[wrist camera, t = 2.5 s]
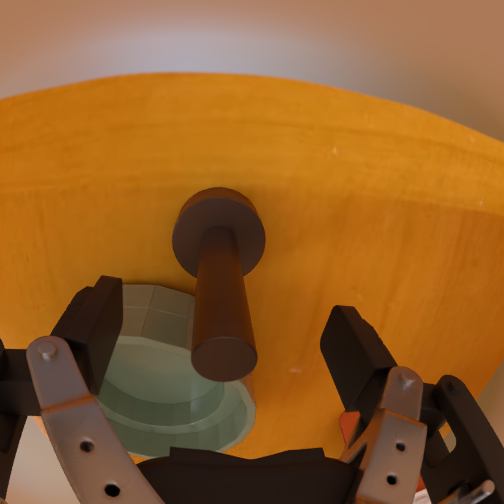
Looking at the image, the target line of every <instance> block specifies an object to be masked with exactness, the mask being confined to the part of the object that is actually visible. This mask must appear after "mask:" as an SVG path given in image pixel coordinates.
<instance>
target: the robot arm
mask: <svg viewBox="0 0 504 504" xmlns="http://www.w3.org/2000/svg"><path fill="white" fill-rule="evenodd" d="M122 324H123V283H122V279H121V278H116V277H110V276H104V275H102V276H101V277H100V278H99V280H98V281H97V283H96V284H95V286H94V287H88V286H87V287H85V288H84V289H82V290H81V291H79V292H77V293H76V295H75V296H74V298H73V299H72V301H71V303H70V304H69V305H68V307H67V308H66V311H65V312H64V313H63V315H62V316H61V318H60V319H59V321H58V323H57V324H56V326H55V327H54V329H53V331H52V332H51V334H50V336H43V337H40V338H38V339H36V340H34V341H33V342H32V343H31V344H30V345H29V346H28V348H27V349H5V348H4V345H3V342H2V340H1V339H0V504H7V502H6V501H5V498H6V493H7V488H8V484H9V479H10V475H11V471H12V466H13V463H14V459H15V455H16V452H17V448H18V444H19V441H20V438H21V435H22V431H23V428H24V425H25V422H26V419H27V416H41V417H42V420H43V423H44V426H45V429H46V431H47V434H48V436H49V439H50V441H51V444H52V446H53V448H54V451H55V453H56V456H57V458H58V460H59V462H60V464H61V467H62V469H63V471H64V473H65V475H66V477H67V479H68V481H69V483H70V485H71V487H72V489H73V491H74V493H75V494H76V496H77V498H78V500H79V502H80V503H81V504H413V501H414V497H415V493H416V489H417V484H418V480H419V475H421V477H422V480H423V482H424V485H425V488H426V490H427V493H428V495H429V498H430V501H431V503H432V504H504V448H503V446H502V444H501V442H500V440H499V438H498V437H497V435H496V433H495V432H494V430H493V428H492V427H491V425H490V423H489V422H488V420H487V418H486V417H485V415H484V413H483V412H482V410H481V409H480V407H479V406H478V404H477V402H476V401H475V399H474V398H473V396H472V395H471V393H470V392H469V390H468V389H467V387H466V386H465V384H464V383H463V382H462V381H461V380H460V379H458V378H456V377H454V376H452V375H444V376H442V377H441V378H440V380H439V381H438V383H437V384H436V385H434V384H427V383H423V382H422V379H421V378H420V376H419V375H418V374H417V373H416V372H414V371H413V370H411V369H409V368H407V367H403V366H398V365H397V363H396V362H395V360H394V359H393V357H392V355H391V354H390V352H389V351H388V349H387V348H386V346H385V345H384V344H383V342H382V340H381V339H380V337H378V334H377V333H376V331H375V330H374V328H373V327H372V326H371V325H370V324H369V323H367V322H366V321H365V320H364V319H362V318H361V316H360V315H359V313H358V312H357V310H356V309H355V307H353V306H340V305H336V306H334V307H333V309H332V311H331V314H330V316H329V319H328V321H327V324H326V326H325V328H324V331H323V333H322V336H321V340H320V349H321V352H322V354H323V357H324V359H325V362H326V364H327V366H328V369H329V371H330V374H331V376H332V378H333V381H334V383H335V386H336V388H337V390H338V393H339V395H340V398H341V400H342V403H343V405H344V408H345V410H346V413H349V412H358V411H359V413H360V416H359V417H358V418H357V420H356V422H355V425H354V427H353V430H352V432H351V434H350V437H349V439H348V441H347V444H346V446H345V448H344V451H343V453H342V455H341V457H340V458H339V460H337V459H333V458H328V457H325V455H324V451H323V448H312V449H300V450H288V451H284V452H281V453H277V454H273V455H269V456H266V457H262V458H258V459H244V458H240V457H235V456H231V455H227V454H223V453H219V452H215V451H211V450H202V449H190V448H180V447H171V446H170V453H169V456H163V457H157V458H152V459H149V460H146V461H143V462H140V463H138V464H135V463H134V461H133V460H132V458H131V457H130V455H129V454H128V452H127V451H126V449H125V448H124V446H123V444H122V443H121V441H120V440H119V438H118V436H117V435H116V433H115V431H114V430H113V428H112V426H111V425H110V423H109V421H108V419H107V418H106V416H105V414H104V412H103V410H102V408H101V407H100V405H99V403H98V401H97V399H96V398H95V396H94V395H97V396H99V393H100V389H101V386H102V383H103V380H104V377H105V374H106V371H107V368H108V365H109V362H110V359H111V356H112V354H113V351H114V348H115V345H116V342H117V340H118V337H119V334H120V332H121V328H122ZM91 394H92V395H91ZM446 422H448V424H449V426H450V428H451V429H452V431H453V433H454V435H455V437H456V446H455V448H454V450H453V451H452V452H451V453H449V451H448V449H447V447H446V445H445V443H444V440H443V438H442V436H441V434H440V432H439V429H440V428H441V427H442V426H443V425H444V424H445V423H446Z"/></svg>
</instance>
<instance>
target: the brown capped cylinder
mask: <svg viewBox="0 0 504 504" xmlns="http://www.w3.org/2000/svg"><path fill="white" fill-rule="evenodd" d="M172 244H173V250H174V253H175V256H176V258H177V260H178V262H179V263H180V265H181V266H182V267H183V268H184V269H185V270H186V271H187V272H188V273H189V274H191V275H192V276H194V277H195V278H197V283H196V294H195V306H194V318H193V331H192V346H191V363H192V366H193V368H194V369H195V371H196V372H197V373H198V374H199V375H201V376H202V377H204V378H206V379H208V380H211V381H216V382H232V381H236V380H239V379H241V378H243V377H245V376H247V375H248V374H249V373H251V372H252V370H253V369H254V368H255V366H256V363H257V351H256V346H255V340H254V335H253V330H252V324H251V318H250V313H249V307H248V302H247V296H246V291H245V285H244V279H243V276H245V275H246V274H248V273H249V272H250V271H251V270H252V269H254V267H255V266H256V265H257V264H258V262H259V261H260V259H261V257H262V255H263V252H264V248H265V232H264V228H263V225H262V223H261V220H260V218H259V216H258V213H257V211H256V209H255V207H254V205H253V204H252V203H251V202H250V200H249V199H247V198H246V197H245V196H244V195H242V194H241V193H239V192H237V191H235V190H232V189H228V188H221V187H218V188H209V189H206V190H203V191H200V192H198V193H197V194H195V195H193V196H192V197H191V198H190V199H189V200H188V201H187V202H186V203H185V204H184V206H183V207H182V209H181V211H180V213H179V216H178V219H177V222H176V224H175V227H174V230H173V236H172Z"/></svg>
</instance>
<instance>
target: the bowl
mask: <svg viewBox="0 0 504 504" xmlns="http://www.w3.org/2000/svg"><path fill="white" fill-rule="evenodd" d="M194 306H195V297H194V296H192V295H190V294H188V293H184V292H180V291H177V290H173V289H170V288H166V287H163V286H159V285H138V284H123V324H122V328H121V332H120V334H119V337H118V340H117V342H116V345H115V348H114V351H113V354H112V356H111V359H110V362H109V365H108V368H107V371H106V374H105V377H104V380H103V383H102V386H101V389H100V393H99V396H97V395H94V396H95V398H96V399H97V401H98V403H99V405H100V407H101V408H102V410H103V412H104V414H105V416H106V418H107V419H108V421H109V423H110V425H111V426H112V428H113V430H114V431H115V433H116V435H117V436H118V438H119V440H120V441H121V443H122V444H123V446H124V448H125V449H126V451H127V452H128V454H130V455H134V456H139V457H143V458H148V459H152V458H157V457H163V456H169V453H170V446H171V447H180V448H190V449H202V450H211V451H215V452H219V453H222V452H225V451H227V450H228V449H230V448H232V447H233V446H235V445H236V444H238V443H240V442H241V441H243V440H244V438H245V437H246V436H247V434H248V433H249V432H250V430H251V429H252V428H253V426H254V424H255V414H256V402H255V396H254V390H253V383H252V377H251V373H249V374H248V375H247V376H245V377H243V378H241V379H239V380H236V381H232V382H216V381H211V380H208V379H206V378H204V377H202V376H201V375H199V374H198V373H197V372H196V371H195V369H194V368H193V366H192V363H191V346H192V331H193V318H194ZM91 395H92V394H91Z"/></svg>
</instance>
